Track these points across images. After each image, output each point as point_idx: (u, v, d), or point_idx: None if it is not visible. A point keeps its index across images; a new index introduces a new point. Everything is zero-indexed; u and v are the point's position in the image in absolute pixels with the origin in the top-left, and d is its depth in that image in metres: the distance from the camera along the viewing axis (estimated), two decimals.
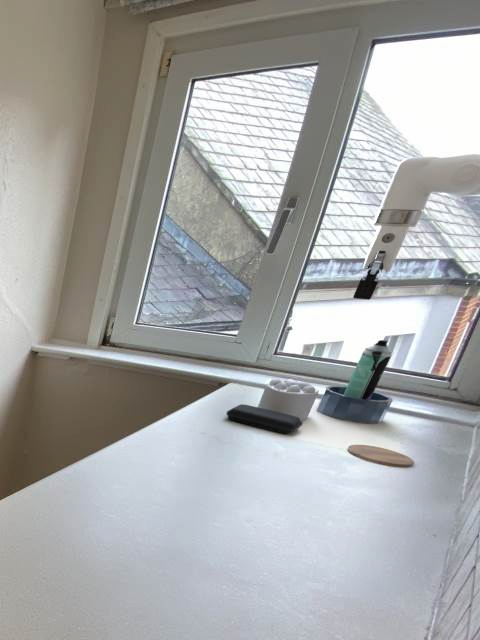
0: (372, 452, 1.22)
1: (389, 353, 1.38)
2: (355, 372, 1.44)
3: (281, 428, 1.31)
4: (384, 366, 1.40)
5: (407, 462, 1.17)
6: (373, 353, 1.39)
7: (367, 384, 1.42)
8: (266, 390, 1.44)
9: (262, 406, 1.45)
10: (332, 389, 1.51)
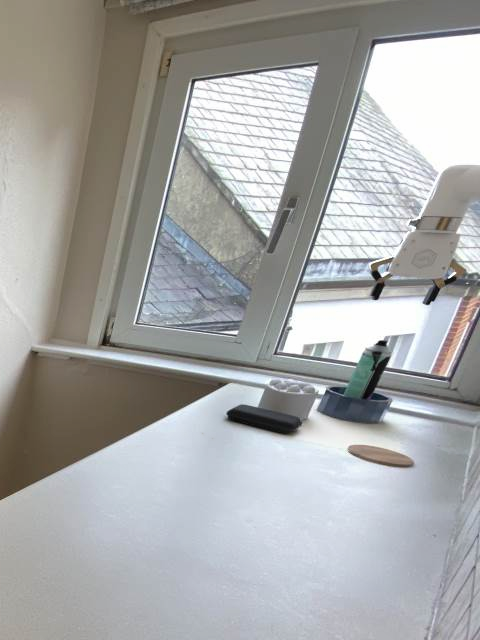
0: (372, 452, 1.22)
1: (389, 353, 1.38)
2: (355, 372, 1.44)
3: (281, 428, 1.31)
4: (384, 366, 1.40)
5: (407, 462, 1.17)
6: (373, 353, 1.39)
7: (367, 384, 1.42)
8: (266, 390, 1.44)
9: (262, 406, 1.45)
10: (332, 389, 1.51)
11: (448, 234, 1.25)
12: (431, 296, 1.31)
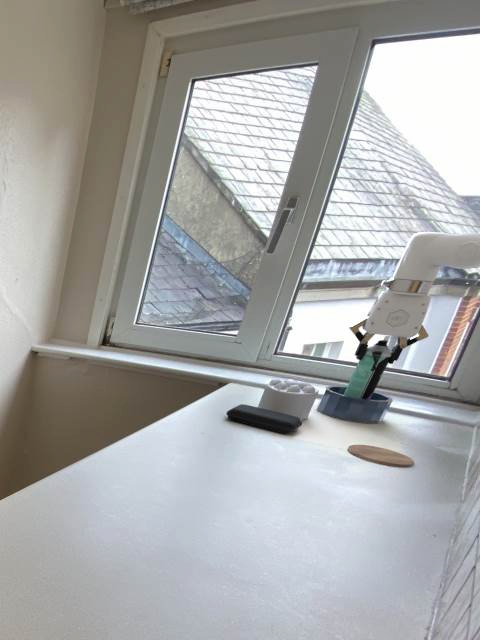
0: (372, 452, 1.22)
1: (389, 353, 1.38)
2: (355, 372, 1.44)
3: (281, 428, 1.31)
4: (384, 366, 1.40)
5: (407, 462, 1.17)
6: (373, 353, 1.39)
7: (367, 384, 1.42)
8: (266, 390, 1.44)
9: (262, 406, 1.45)
10: (332, 389, 1.51)
11: (419, 296, 1.31)
12: (394, 356, 1.38)
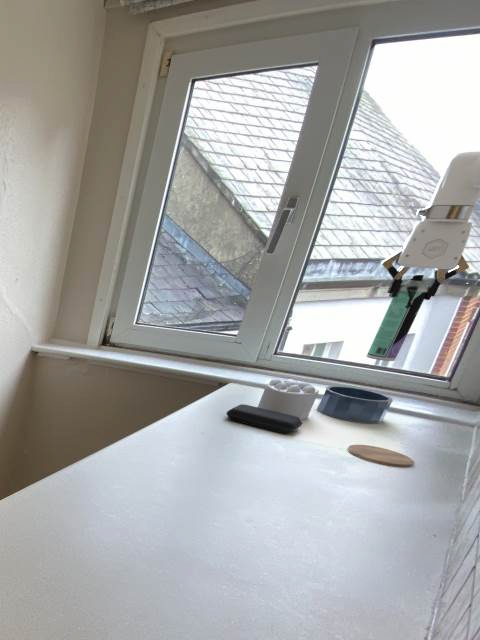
0: (372, 452, 1.22)
1: (426, 288, 1.29)
2: (388, 311, 1.34)
3: (281, 428, 1.31)
4: (420, 303, 1.30)
5: (407, 462, 1.17)
6: (408, 289, 1.30)
7: (401, 323, 1.33)
8: (266, 390, 1.44)
9: (262, 406, 1.45)
10: (332, 389, 1.51)
11: (459, 223, 1.22)
12: (431, 291, 1.29)
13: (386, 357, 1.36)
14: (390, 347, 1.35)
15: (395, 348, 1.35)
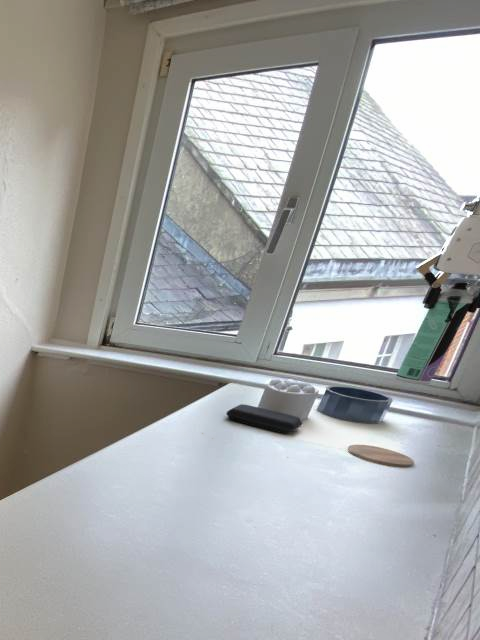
0: (372, 452, 1.22)
1: (470, 298, 1.07)
2: (423, 325, 1.12)
3: (281, 428, 1.31)
4: (463, 316, 1.08)
5: (407, 462, 1.17)
6: (448, 299, 1.08)
7: (440, 340, 1.11)
8: (266, 390, 1.44)
9: (262, 406, 1.45)
10: (332, 389, 1.51)
11: None
12: (477, 302, 1.07)
13: (419, 380, 1.14)
14: (424, 368, 1.13)
15: (431, 369, 1.13)
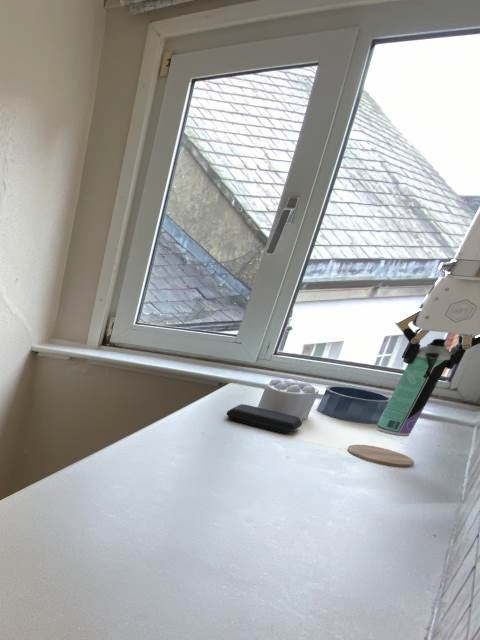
0: (372, 452, 1.22)
1: (448, 355, 1.09)
2: (402, 379, 1.14)
3: (281, 428, 1.31)
4: (441, 372, 1.10)
5: (407, 462, 1.17)
6: (427, 355, 1.10)
7: (418, 395, 1.12)
8: (266, 390, 1.44)
9: (262, 406, 1.45)
10: (332, 389, 1.51)
11: None
12: (454, 359, 1.09)
13: (399, 432, 1.16)
14: (404, 421, 1.15)
15: (410, 422, 1.15)
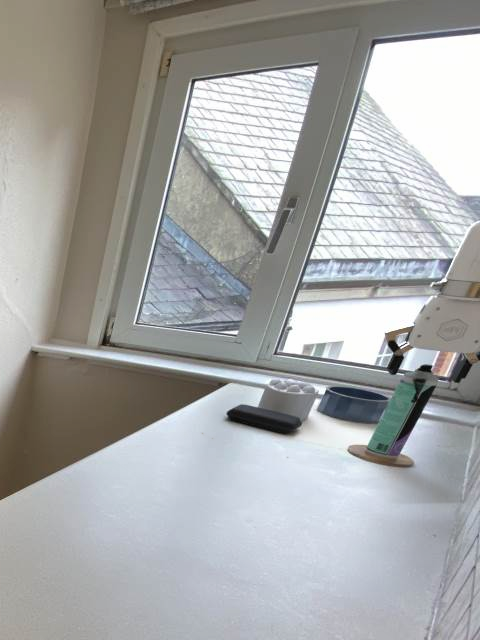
0: None
1: (435, 381, 1.11)
2: (391, 403, 1.16)
3: (281, 428, 1.31)
4: (428, 397, 1.12)
5: (407, 462, 1.17)
6: (414, 381, 1.12)
7: (406, 419, 1.15)
8: (266, 390, 1.44)
9: (262, 406, 1.45)
10: (332, 389, 1.51)
11: None
12: (461, 373, 1.09)
13: (388, 455, 1.18)
14: (392, 444, 1.17)
15: (399, 445, 1.17)
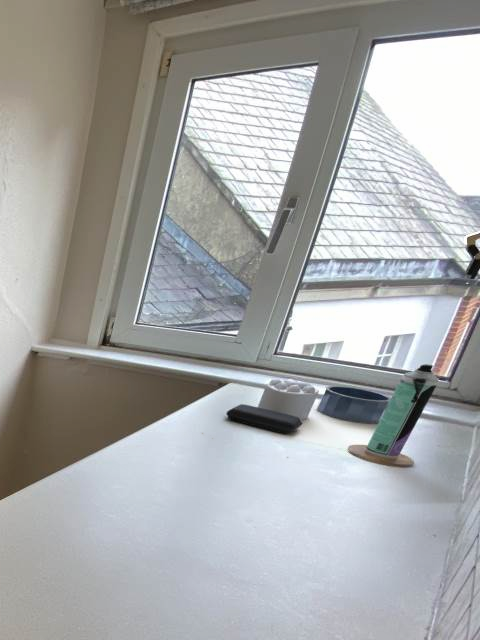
0: None
1: (435, 381, 1.11)
2: (391, 403, 1.16)
3: (281, 428, 1.31)
4: (428, 397, 1.12)
5: (407, 462, 1.17)
6: (414, 381, 1.12)
7: (406, 419, 1.15)
8: (266, 390, 1.44)
9: (262, 406, 1.45)
10: (332, 389, 1.51)
11: None
12: None
13: (388, 455, 1.18)
14: (392, 444, 1.17)
15: (399, 445, 1.17)
